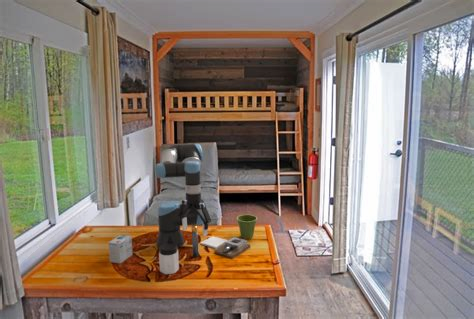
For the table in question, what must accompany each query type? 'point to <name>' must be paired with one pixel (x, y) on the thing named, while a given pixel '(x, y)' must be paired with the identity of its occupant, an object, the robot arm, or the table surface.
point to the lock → (233, 247)
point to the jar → (168, 258)
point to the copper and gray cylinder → (195, 241)
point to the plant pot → (246, 225)
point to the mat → (213, 242)
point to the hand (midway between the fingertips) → (194, 232)
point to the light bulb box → (120, 248)
